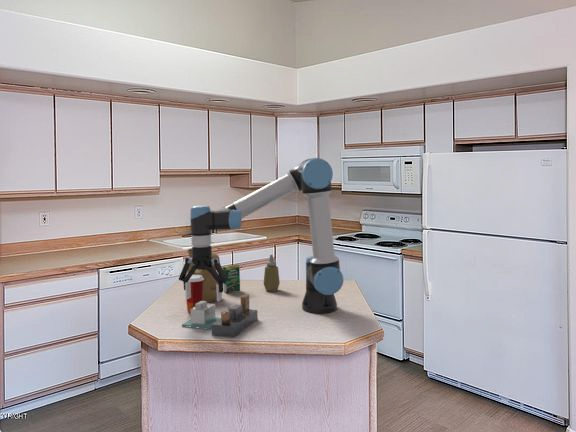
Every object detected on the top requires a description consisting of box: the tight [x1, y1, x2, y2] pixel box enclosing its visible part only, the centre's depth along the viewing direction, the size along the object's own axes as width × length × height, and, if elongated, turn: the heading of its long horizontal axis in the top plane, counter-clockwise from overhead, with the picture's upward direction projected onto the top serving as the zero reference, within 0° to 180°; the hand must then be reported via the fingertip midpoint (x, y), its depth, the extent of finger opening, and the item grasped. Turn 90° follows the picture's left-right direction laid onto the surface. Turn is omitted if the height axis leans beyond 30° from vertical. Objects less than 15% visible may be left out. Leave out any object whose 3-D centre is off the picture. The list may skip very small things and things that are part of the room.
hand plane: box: [211, 293, 259, 338], centre depth 186 cm, size 9×22×10 cm, turn 161°
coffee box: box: [222, 264, 241, 294], centre depth 240 cm, size 8×3×13 cm, turn 125°
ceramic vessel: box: [187, 248, 220, 304], centre depth 224 cm, size 17×20×25 cm
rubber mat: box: [181, 317, 221, 330], centre depth 191 cm, size 12×12×1 cm
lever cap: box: [190, 301, 217, 326], centre depth 190 cm, size 6×9×8 cm, turn 161°
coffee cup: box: [185, 275, 204, 313], centre depth 207 cm, size 8×8×15 cm
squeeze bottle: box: [263, 254, 281, 293], centre depth 241 cm, size 8×8×18 cm
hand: (203, 299), depth 190 cm, fingers open, 13 cm apart
